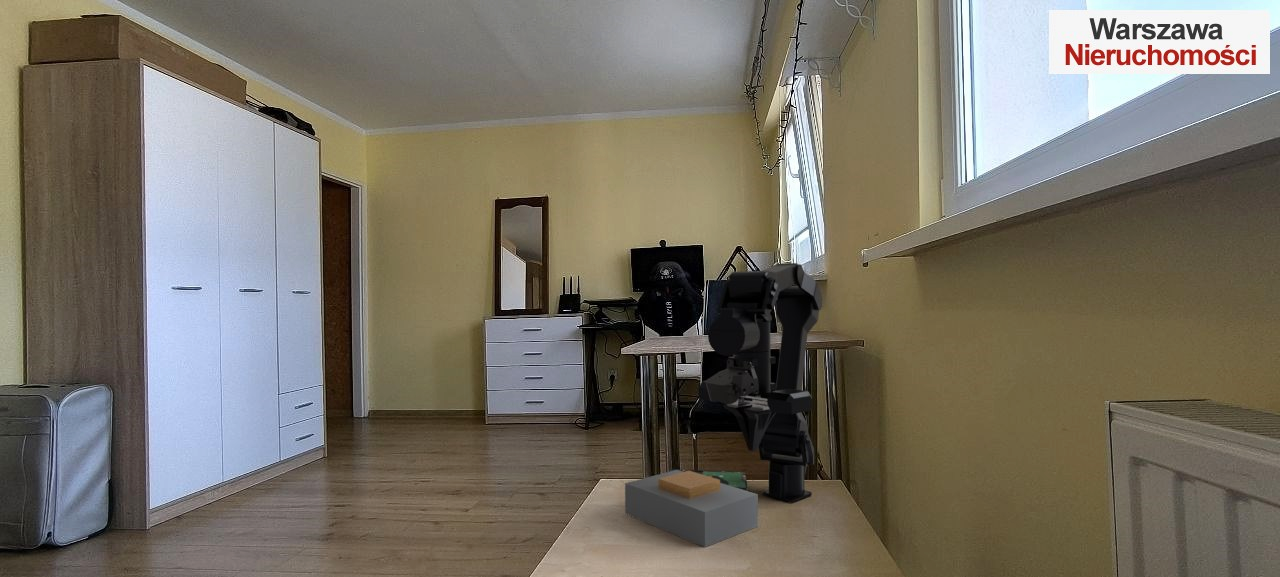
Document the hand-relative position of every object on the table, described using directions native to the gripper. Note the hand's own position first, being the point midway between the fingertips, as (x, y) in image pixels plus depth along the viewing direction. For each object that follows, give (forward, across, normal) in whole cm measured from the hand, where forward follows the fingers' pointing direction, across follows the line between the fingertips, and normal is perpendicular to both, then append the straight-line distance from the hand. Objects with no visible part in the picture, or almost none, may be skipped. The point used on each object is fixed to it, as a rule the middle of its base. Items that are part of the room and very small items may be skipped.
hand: (752, 450), depth 95 cm
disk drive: (+12, -18, +8) cm, 23 cm away
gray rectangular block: (+12, -8, -6) cm, 15 cm away
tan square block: (+11, -8, -6) cm, 15 cm away
